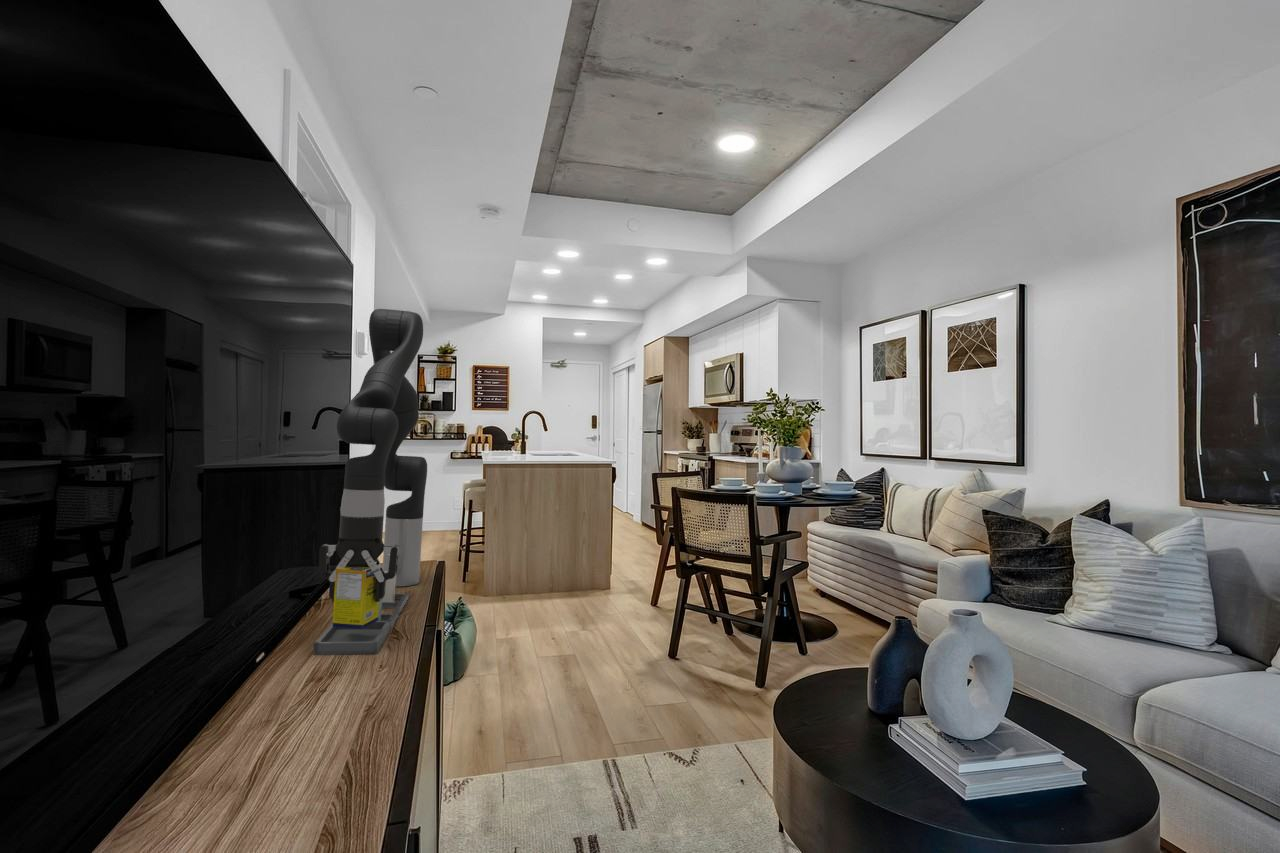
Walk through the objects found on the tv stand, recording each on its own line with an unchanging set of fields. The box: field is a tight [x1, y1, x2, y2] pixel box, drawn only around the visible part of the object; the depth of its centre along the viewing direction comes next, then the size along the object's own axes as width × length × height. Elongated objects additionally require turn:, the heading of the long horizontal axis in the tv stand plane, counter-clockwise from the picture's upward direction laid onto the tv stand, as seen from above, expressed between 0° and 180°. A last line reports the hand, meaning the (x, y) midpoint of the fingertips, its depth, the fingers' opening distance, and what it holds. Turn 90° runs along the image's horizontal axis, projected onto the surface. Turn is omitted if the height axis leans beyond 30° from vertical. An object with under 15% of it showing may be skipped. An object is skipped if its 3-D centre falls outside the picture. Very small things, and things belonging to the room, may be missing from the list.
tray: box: [312, 620, 391, 656], centre depth 120 cm, size 14×10×2 cm
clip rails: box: [381, 592, 410, 631], centre depth 138 cm, size 25×11×2 cm, turn 12°
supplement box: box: [332, 565, 379, 629], centre depth 120 cm, size 6×6×11 cm
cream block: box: [382, 571, 397, 602], centre depth 147 cm, size 4×5×7 cm
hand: (356, 600), depth 120 cm, fingers closed on supplement box, 7 cm apart
